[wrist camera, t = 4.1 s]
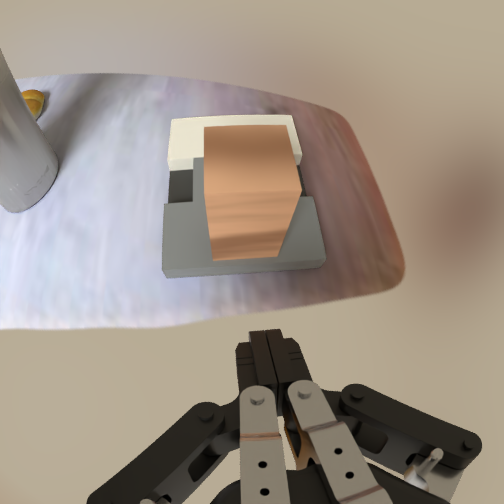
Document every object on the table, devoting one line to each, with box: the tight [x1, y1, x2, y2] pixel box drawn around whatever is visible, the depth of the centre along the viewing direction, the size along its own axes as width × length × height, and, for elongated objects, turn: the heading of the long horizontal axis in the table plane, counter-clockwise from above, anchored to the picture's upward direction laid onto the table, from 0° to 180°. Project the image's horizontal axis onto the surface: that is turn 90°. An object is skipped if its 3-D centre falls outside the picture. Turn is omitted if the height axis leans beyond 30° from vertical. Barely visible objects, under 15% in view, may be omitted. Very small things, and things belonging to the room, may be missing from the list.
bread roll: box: [21, 90, 44, 120], centre depth 30 cm, size 8×9×4 cm
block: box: [204, 125, 302, 261], centre depth 20 cm, size 5×5×9 cm
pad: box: [168, 115, 302, 171], centre depth 29 cm, size 6×13×2 cm, turn 96°
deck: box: [162, 157, 327, 278], centre depth 26 cm, size 11×13×2 cm
